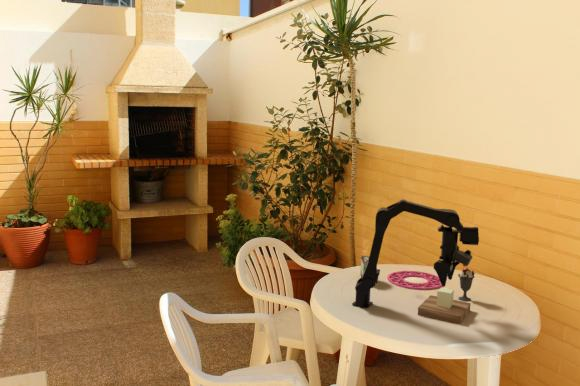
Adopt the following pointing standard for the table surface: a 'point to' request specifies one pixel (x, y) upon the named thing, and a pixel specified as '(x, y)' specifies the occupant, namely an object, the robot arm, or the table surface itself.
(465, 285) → the sundae
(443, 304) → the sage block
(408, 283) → the trivet
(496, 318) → the table surface
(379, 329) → the table surface
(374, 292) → the table surface
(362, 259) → the food container
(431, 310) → the walnut base
